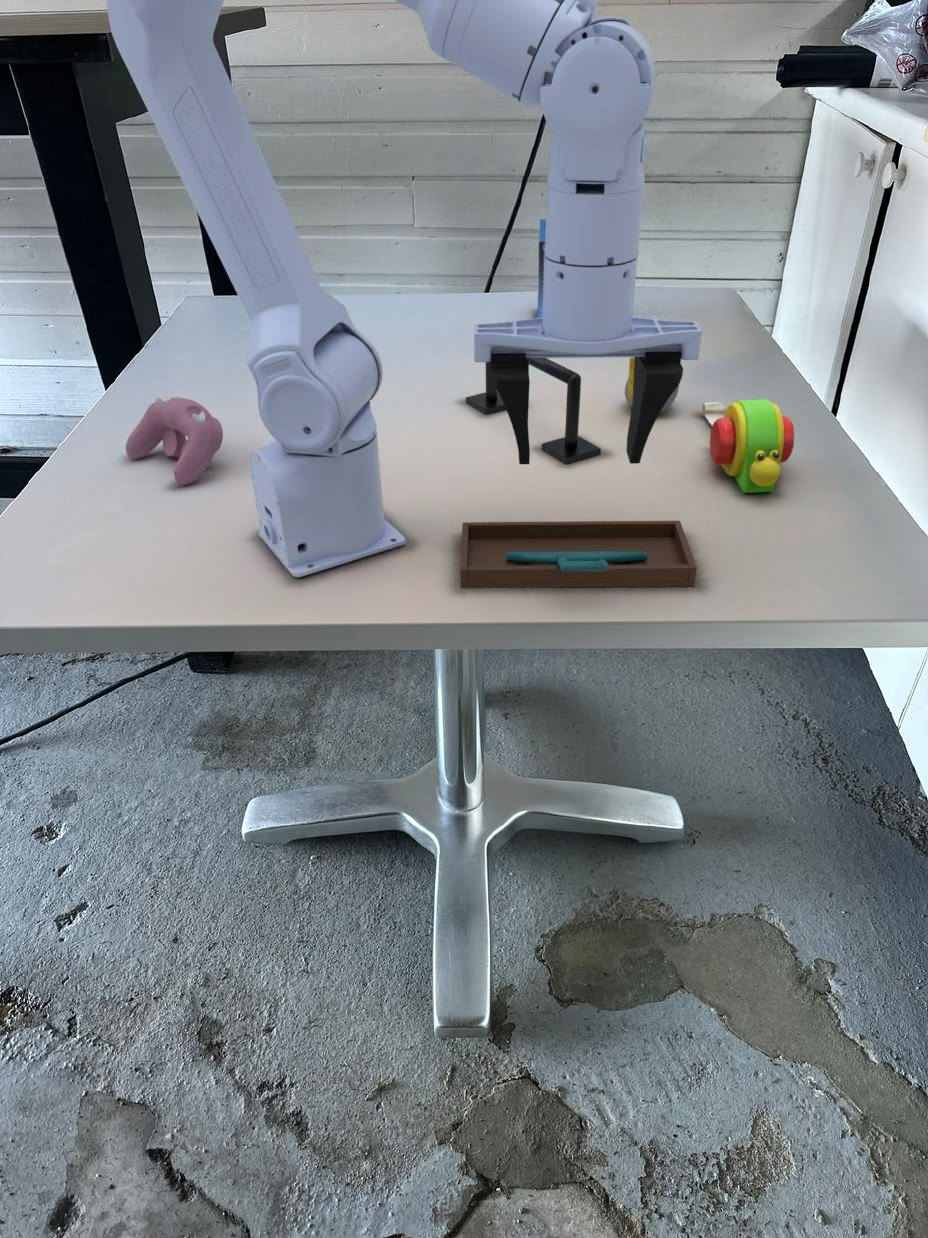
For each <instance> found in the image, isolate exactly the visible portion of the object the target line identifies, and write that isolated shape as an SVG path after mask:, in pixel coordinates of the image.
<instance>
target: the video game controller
mask: <svg viewBox="0 0 928 1238" xmlns="http://www.w3.org/2000/svg"><path fill="white" fill-rule="evenodd" d="M223 438H224V430H223V427H222V424H221V422H220V420H218V418H216V417H214V416H212V414H211V413H210V412H209V410H208V409H206V408H205V406H203V405H202V404H201V403H199V402H197V401H196V400H192V399H189V398H184V397H179V396H175V397H173V396H172V397H171V396H167V397H164V398H161V397H156V398H155V401H154V402H153V403H151V404H150V405H149V406H148V407H147V409H146V411H145V412H144V414H143V416H142V418H141V419H140V421H139V423H137V425H136V426H135V428H134V429H133V430H132V431H131V433H130V435H129V436H128V437H127V441H126V443H125V453H126V455H127V457H129V458H130V459H132V460H139V459H142V458H144V457H146V456H147V455H148V454H150V453H151V452H152V451H153V450H154V449H155V448H156V447H157V446H158V445H159V444H161V442H162V449H163V453H164V454H165V456H168V457H172V458H174V457H175V458H178V460H177V462H176V464H175V467H174V471H173V476H174V480H175V482H176V483H177V484H178V485H180V486H187V485H189V484H191V483H194V482H195V481H197V480H198V479H199V478H200V477H201V476H202V475H203V474H204V473H205V472H206V470H207V469H208V467H209V466H210V464H211V462H212V460H213V459H214V456H215V454H216V453H217V452H218V451H219V450H220V448H221V446H222V443H223V440H224V439H223Z"/></svg>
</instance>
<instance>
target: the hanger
mask: <svg viewBox="0 0 928 1238" xmlns="http://www.w3.org/2000/svg"><path fill="white" fill-rule="evenodd" d="M505 557H506V559H507V560H508V561H516V562H530V563H544V564H558V565H559V567H560V568H561V570H562V571H606V570H607V569H608V563H607V562H628V561H645V560H646V559H647V558H648V554H647V553H646V552H644V551H610V552H508V553H506V555H505Z"/></svg>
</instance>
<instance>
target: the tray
mask: <svg viewBox="0 0 928 1238" xmlns="http://www.w3.org/2000/svg"><path fill="white" fill-rule="evenodd" d="M461 525H462V527H461V542H460V543H461V545H460V546H461V547H460V564H459V567H460V568H459V577H460V581H459V582H460V589H474V588H475V589H487V588H488V589H489V588H490V589H491V588H492V589H494V588H495V589H497V588H498V589H499V588H501V589H502V588H506V589H507V588H508V589H509V588H511V589H512V588H513V589H514V588H636V587H637V588H639V587H640V588H643V587H644V588H646V587H649V588H651V587H653V588H655V587H658V588H659V587H663V588H665V587H671V588H672V587H695V584H696V582H695V581H696V577H697V572H698V571H697V570H698V568H697V564H696V562H695V559H694V556H693V554H692V550H691V548H690V545H689V542H688V540H687V539H688V538H687V537H686V533H685V531H684V528H683V526H682V523H681V520H596V521H595V520H587V521H585V520H584V521H583V520H582V521H581V520H580V521H578V520H577V521H576V520H575V521H574V520H573V521H570V520H569V521H473V522H472V521H471V522H467V521H465V522H462V524H461ZM610 551H644V552H646V553H647V554H648V558H647V559H646V560H645V561H628V562H607V563H608V569H607V570H606V571H562V570H561V568H560V567H559V565H558V564H544V563H530V562H516V561H508V560H507V559H506V557H505V555H506V553H508V552H610Z"/></svg>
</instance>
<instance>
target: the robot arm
mask: <svg viewBox="0 0 928 1238" xmlns="http://www.w3.org/2000/svg"><path fill="white" fill-rule="evenodd" d="M394 1H395V2H397V3H399V4H401V5H403V6H405V7H407V8H408V9H410V10H412V11H414V12H415V13H417V15H418V17H419V18H420V21H421V24H422V27H423V30H424V32H425V36H426V38H427V43H428V45H429V48H430V50H431V51H432V52H433V53H434V54H436V55H438V56H439V57H441V58H443V59H444V60H446V61H448V62H449V63H451V64H453V65H454V66H456V67H458V68H459V69H461V70H463V71H464V72H466V73H468V74H469V75H471V76H473V77H475V78H477V79H478V80H479V81H481V82H483V83H485V84H487V85H488V86H490V87H491V88H493V89H495V90H497V91H498V92H500V93H502V94H503V95H505V96H507V97H508V98H510V99H512V100H513V101H516V102H517V103H518V104H519V103H520V105H522V106H524V107H525V108H531V107H533V106H541V111H542V114H543V116H544V120H545V122H546V123H547V125H548V127H549V129H550V130H551V134H550V135H551V136H550V137H551V139H550V164H549V165H550V169H549V172H548V173H547V177H546V204H545V219H546V229H545V255H544V285H543V316H542V317H541V318H538V317H535V318H534V317H533V318H525V319H519V320H510V321H501V322H491V323H475V324H474V326H473V356H474V358H473V360H474V362H475V363H485V362H490V361H491V376H492V379H493V382H494V385H495V387H496V389H497V391H498V393H499V395H500V397H501V399H502V401H503V403H504V405H505V408H506V409H505V410H506V412H507V415H508V417H509V420H510V421H509V422H510V423H511V426H512V430H513V434H514V437H515V441H516V446H517V452H518V464H519V465H530V459H531V458H530V457H531V450H530V436H529V435H530V434H529V405H530V404H529V402H530V385H531V384H530V383H531V382H530V365H529V363H528V358H547V359H575V358H579V359H580V358H581V359H583V358H632V357H633V358H634V384H633V402H632V408H631V410H630V417H629V422H628V429H627V434H626V435H627V436H626V454H627V459H628V462H629V464H630V465H631V464H632V465H633V464H634V465H635V464H636V465H637V464H641V460H642V456H643V454H644V450H645V447H646V444H647V441H648V438H649V437H650V434H651V432H652V429H653V427H654V425H655V423H656V422H657V419H658V417H659V416H660V414H661V413H662V412H661V410H662V408H663V407H664V405H665V404H666V402H667V401H668V399H669V398H670V396H671V395H672V393H673V392H674V391H675V390H676V388H677V387H678V386H679V387H680V384H681V381H682V379H683V374H684V367H683V365H682V363H681V362H682V360H683V361H698V360H699V357H700V356H699V355H700V349H701V341H702V336H703V335H702V334H703V330H702V329H701V327H700V325H699V323H698V322H697V321H695V320H693V321H692V320H689V321H688V320H668V319H658V318H649V317H647V318H646V317H637V316H636V317H635V316H633V312H634V311H633V310H634V300H635V289H636V279H637V267H638V256H639V247H640V246H639V245H640V235H641V225H642V224H641V223H642V211H643V203H644V202H643V201H644V189H645V182H646V181H645V179H646V177H645V172H644V169H643V168H642V165H643V162H644V160H645V157H646V151H647V139H646V135H645V130H646V129H645V128H646V126H645V124H644V123H643V121H644V119H645V118H646V116H647V114H648V111H649V108H650V105H651V101H652V98H653V96H654V91H655V87H656V78H657V77H656V76H657V70H656V63H655V58H654V55H653V52H652V50H651V47H650V45H649V43H648V42H647V40H646V39H645V37H643V35H642V34H641V33H640V32H638V30H637V29H635V28H633V27H632V26H631V24H630V22H629V21H628V20H627V19H626V18H624V17H619V16H603V17H599V18H595V19H593V17H594V14H595V11H596V8H597V7H598V4H599V0H394ZM224 2H225V0H106V7H107V16H108V22H109V23H108V24H109V28H110V32H111V35H112V38H113V40H114V43H115V46H116V48H117V50H118V52H119V54H120V56H121V58H122V60H123V62H124V64H125V66H126V69H127V70H128V73H129V75H130V77H131V79H132V81H133V83H134V85H135V87H136V89H137V91H138V93H139V96H140V97H141V99H142V101H143V104H144V105H145V107H146V110H147V111H148V114H149V116H150V118H151V120H152V122H153V123H154V126H155V128H156V130H157V132H158V134H159V136H160V138H161V140H162V142H163V144H164V147H165V149H166V150H167V153H168V154H169V157H170V158H171V161H172V163H173V165H174V167H175V169H176V171H177V173H178V175H179V177H180V180H181V181H182V183H183V185H184V187H185V188H184V189H186V191H187V194H188V195H189V198H190V200H191V202H192V204H193V207H194V208H195V211H196V212H197V215H198V216H199V218H200V220H201V222H202V224H203V226H204V229H205V230H206V233H207V235H208V237H209V239H210V241H211V243H212V246H213V247H214V249H215V251H216V253H217V256H218V257H219V260H220V261H221V263H222V265H223V268H224V269H225V272H226V274H227V276H228V278H229V280H230V282H231V285H232V286H233V288H234V290H235V292H236V295H237V297H238V298H239V300H240V302H241V305H242V306H243V309H244V311H245V312H246V315H247V317H248V319H249V321H250V329H249V337H248V344H247V354H246V365H247V367H248V369H249V371H250V373H251V376H252V377H253V380H254V382H255V386H256V391H257V407H258V414H259V416H260V419H261V422H262V423H263V425H264V427H265V429H266V431H268V433H269V434H270V436H272V438H274V439H275V440H274V441H273V442H271V443H270V444H268V445H266V446H264V447H262V448H260V449H259V448H258V449H256V450H254V451H253V452H251V454H250V459H249V466H250V475H251V482H252V486H253V492H254V497H255V498H254V499H255V504H256V509H257V515H258V521H259V526H260V529H259V530H258V534H259V537H260V538H261V539H262V540H263V542H264V543H265V544H266V545H267V546H268V548H269V549H270V550H271V551H272V552H273V554H274V555H275V557H276V558H277V559H278V560H279V561H280V562H281V563H282V565H283V566H284V567H285V568H286V570H287V571H288V572H289V573H290V575H291V576H293V577H294V578H302V577H305V576H308V575H311V574H314V573H317V572H321V571H325V570H328V569H331V568H334V567H337V566H340V565H343V564H347V563H351V562H353V561H355V560H359V559H362V558H363V559H364V558H366V557H368V556H372V555H375V554H378V553H381V552H385V551H388V550H391V549H395V548H398V547H401V546H403V545H405V544H406V543H407V542H406V537H405V536H404V535H403V534H402V533H401V532H399V530H398V529H397V528H396V527H394V526H393V525H392V524H391V523H389V521H387V520H386V518H385V513H384V500H383V489H382V478H381V476H382V475H381V467H380V466H381V465H380V451H379V442H378V441H379V440H378V432H377V422H376V419H375V417H374V416H373V413H372V406H371V405H372V404H371V401H372V400H373V399H374V398H375V397H376V395H377V394H378V392H379V390H380V388H381V386H382V382H383V375H384V371H383V364H382V360H381V358H380V354H379V352H378V351H377V349H376V348H375V345H373V343H372V342H371V341H370V340H369V339H368V338H367V337H366V336H364V335H363V333H361V331H360V330H359V329H358V328H357V327H356V326H355V324H354V323H353V321H352V319H351V317H350V315H349V312H348V310H347V308H346V306H345V305H344V304H343V303H342V302H341V301H339V300H338V299H336V298H335V297H333V296H332V295H331V294H329V293H328V292H326V291H325V290H324V289H323V288H322V287H321V285H320V282H319V280H318V277H317V275H316V273H315V271H314V269H313V265H312V264H311V261H310V259H309V257H308V255H307V253H306V252H307V251H305V250H306V249H305V248H304V246H303V243H302V241H301V239H300V237H299V234H298V232H297V229H296V228H295V225H294V223H293V221H292V219H291V215H290V213H289V212H288V209H287V206H286V205H285V203H284V200H283V198H282V196H281V193H280V191H279V189H278V187H277V183H276V182H275V179H274V178H273V175H272V172H271V171H270V169H269V166H268V163H267V162H266V159H265V157H264V154H263V153H262V150H261V148H260V146H259V143H258V141H257V139H256V137H255V134H254V132H253V130H252V127H251V125H250V123H249V121H248V118H247V116H246V114H245V112H244V110H243V107H242V105H241V102H240V100H239V98H238V95H237V93H236V91H235V89H234V86H233V84H232V82H231V80H230V77H229V75H228V72H227V71H226V68H225V66H224V64H223V61H222V59H221V57H220V54H219V52H218V50H217V48H216V45H215V43H214V32H215V29H216V27H217V24H218V20H219V17H220V14H221V11H222V9H223V5H224Z"/></svg>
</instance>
